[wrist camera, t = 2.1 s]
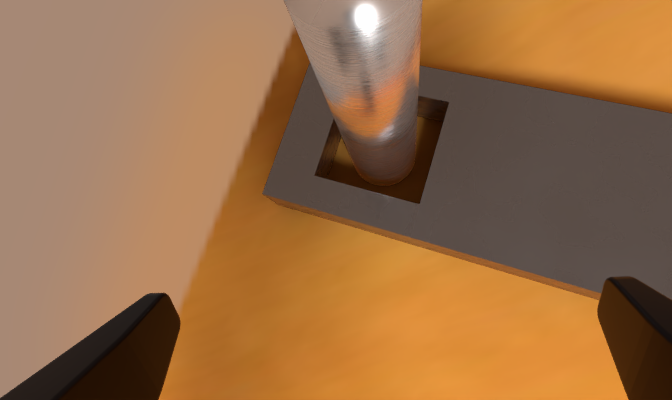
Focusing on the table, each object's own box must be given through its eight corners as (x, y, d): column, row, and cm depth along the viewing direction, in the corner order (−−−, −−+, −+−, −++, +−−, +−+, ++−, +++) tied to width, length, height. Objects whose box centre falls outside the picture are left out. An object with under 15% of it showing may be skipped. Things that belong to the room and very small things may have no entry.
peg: (390, 198, 23) (363, 56, 9) (340, 163, 24) (250, -11, 10) (428, 148, 23) (454, -60, 10) (377, 116, 24) (337, -114, 11)
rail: (276, 204, 24) (260, 192, 21) (324, 69, 25) (315, 43, 23) (1025, 426, 16) (1143, 451, 13) (1029, 213, 18) (1136, 199, 15)
